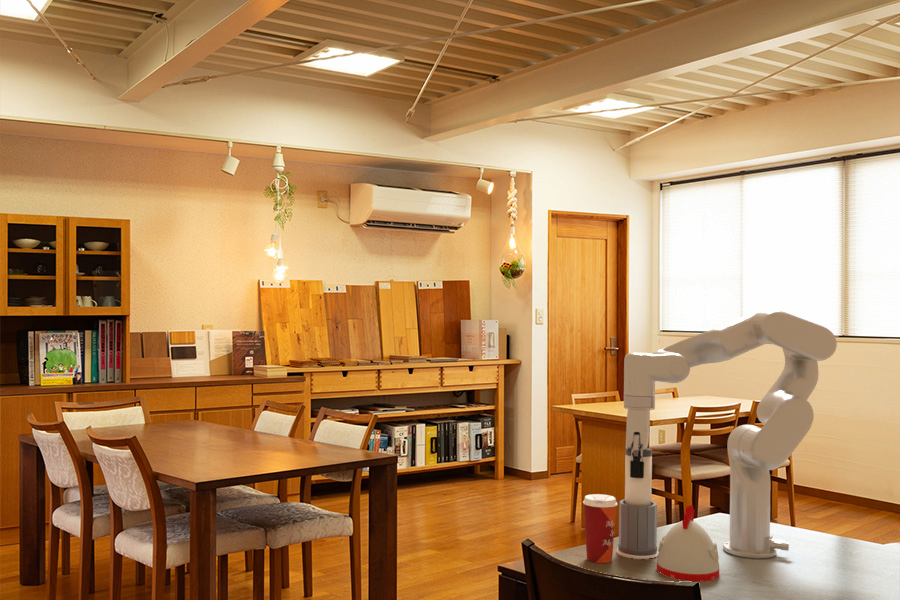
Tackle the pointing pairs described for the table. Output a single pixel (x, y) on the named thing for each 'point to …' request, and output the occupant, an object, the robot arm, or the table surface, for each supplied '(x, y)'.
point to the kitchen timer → (688, 552)
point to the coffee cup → (599, 527)
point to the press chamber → (637, 531)
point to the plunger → (638, 481)
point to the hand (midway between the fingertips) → (638, 474)
